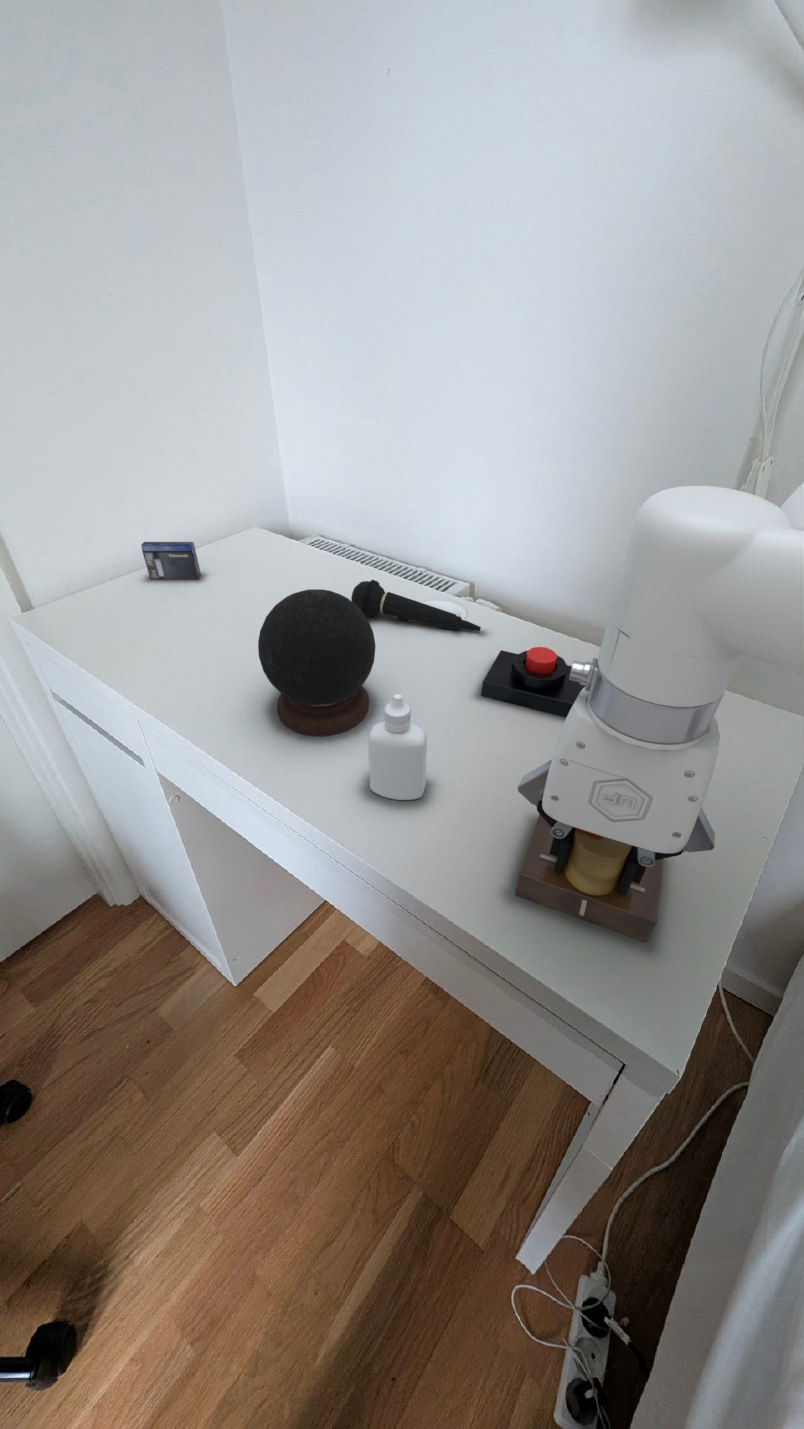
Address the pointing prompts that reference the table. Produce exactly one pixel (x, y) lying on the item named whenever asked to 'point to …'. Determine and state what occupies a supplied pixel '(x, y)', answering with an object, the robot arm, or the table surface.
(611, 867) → the knob
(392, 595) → the microphone
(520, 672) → the button box
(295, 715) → the black ball on stand
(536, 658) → the button
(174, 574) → the mini dv tape
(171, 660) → the table surface
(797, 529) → the robot arm
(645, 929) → the panel
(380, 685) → the table surface
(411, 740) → the eye dropper bottle
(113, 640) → the table surface
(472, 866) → the table surface
